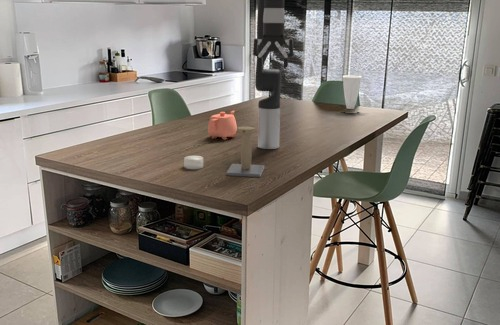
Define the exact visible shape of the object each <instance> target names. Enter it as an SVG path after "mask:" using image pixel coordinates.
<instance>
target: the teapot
mask: <svg viewBox="0 0 500 325" xmlns="http://www.w3.org/2000/svg"><path fill="white" fill-rule="evenodd" d="M235 111H236V110H232V111H230V113H228V114H227V113H226V112H225V111H220V112H219V113H216V114H213V115H211V116H210V118H209V121H208V125H207V133H208V136H211V139H217V137H218V138H221V140H222V139H223V140H224V141H227V140H228V138H230V137H232V138H234V135H236V133H237V132H238V131H237V127H238V126H237V122H236V118H235V115H234V114H235ZM226 139H227V140H226ZM223 140H222V141H223Z"/></svg>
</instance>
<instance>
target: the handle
mask: <svg viewBox="0 0 500 325" xmlns="http://www.w3.org/2000/svg"><path fill="white" fill-rule="evenodd" d="M237 132H238V133H239V134H240V135H241V142H240V164H242V165H241V168H242V169H244V170H246V169H250V167H251V165H252V156H253V155H252V135H253V134H254V133H255V132H256V127H253V126H237Z"/></svg>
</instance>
